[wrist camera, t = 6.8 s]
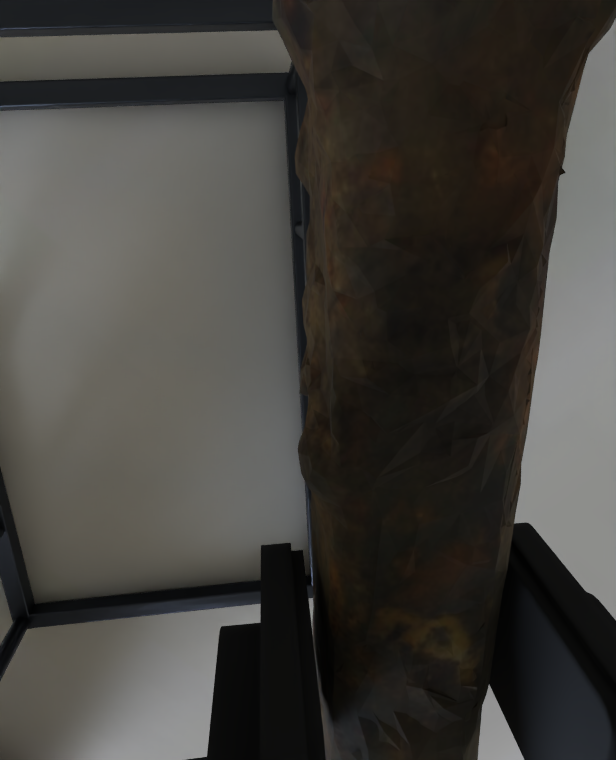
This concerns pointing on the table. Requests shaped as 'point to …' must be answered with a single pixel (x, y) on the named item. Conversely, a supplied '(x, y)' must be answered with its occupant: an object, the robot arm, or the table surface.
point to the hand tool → (422, 338)
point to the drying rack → (143, 16)
